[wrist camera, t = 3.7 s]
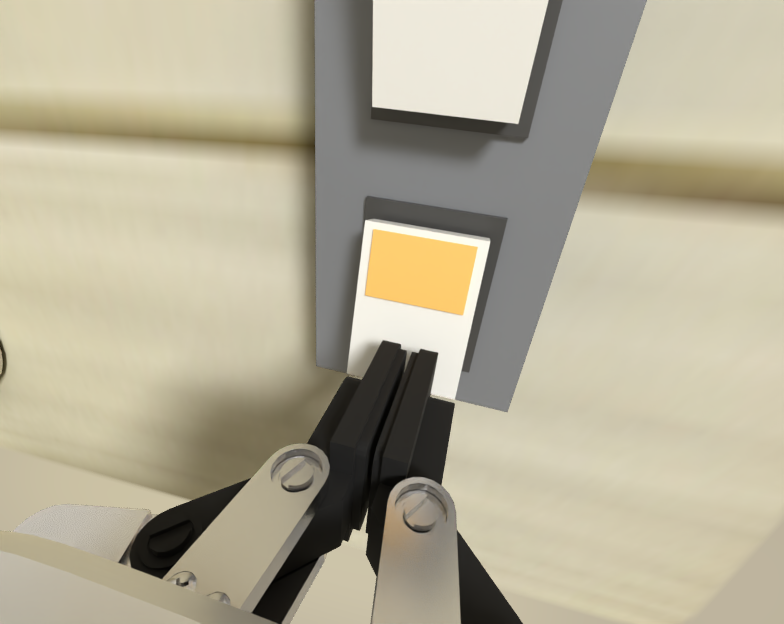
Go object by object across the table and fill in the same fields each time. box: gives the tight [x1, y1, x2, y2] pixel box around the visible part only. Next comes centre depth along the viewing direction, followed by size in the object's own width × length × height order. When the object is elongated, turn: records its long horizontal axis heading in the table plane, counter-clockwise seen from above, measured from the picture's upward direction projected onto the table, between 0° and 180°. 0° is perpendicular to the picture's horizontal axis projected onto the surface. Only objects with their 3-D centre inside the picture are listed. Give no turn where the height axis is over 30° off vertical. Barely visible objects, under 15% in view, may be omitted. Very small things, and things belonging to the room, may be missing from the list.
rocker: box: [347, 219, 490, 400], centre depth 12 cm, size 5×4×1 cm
